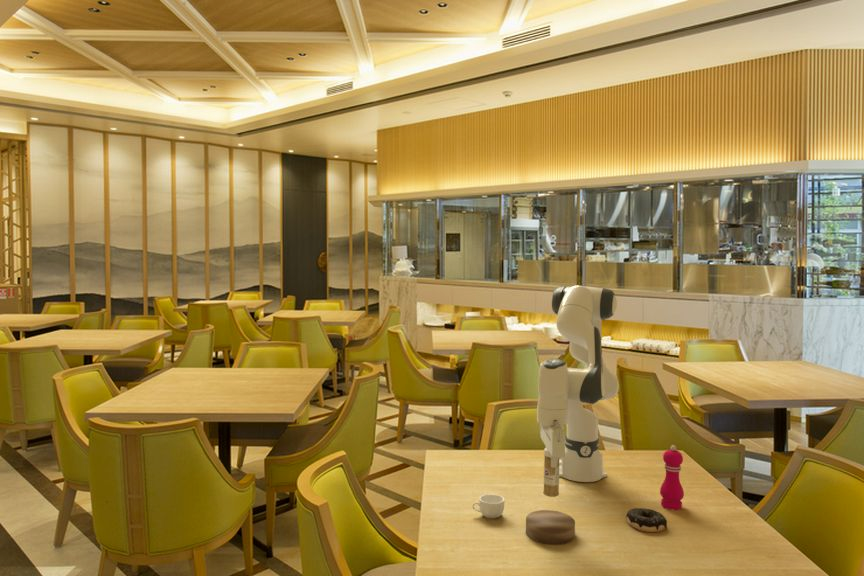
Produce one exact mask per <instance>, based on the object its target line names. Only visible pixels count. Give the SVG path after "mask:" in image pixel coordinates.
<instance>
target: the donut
mask: <svg viewBox="0 0 864 576" xmlns="http://www.w3.org/2000/svg"><path fill="white" fill-rule="evenodd" d="M625 518H626V519H625V520H626V522H627V523H628V525H630V526H631V527H632V528H634V529H636V530H639V531H641V532H645V533H659V532H661V531H664V530H667V525H668V520H667V519H666V517H665V516H664V514H663V513H661V512H659V511H657V510H654V509H649V508H644V507H642V508H641V507H638V508H637V507H635V508H634V507H633V508H630V509H629V510H628V511H627V512H626V515H625Z"/></svg>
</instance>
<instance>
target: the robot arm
mask: <svg viewBox="0 0 864 576" xmlns="http://www.w3.org/2000/svg"><path fill="white" fill-rule="evenodd" d="M550 304H551V309H552V312H553V313H554V315H556V316H557V317H556V329H557V330H558V333H559V334H560V335H561V336H562V337H563V338H564V339H566V341H569V347H568V348H569V349H568V350H569V354H570V355H571V357H572V358H573V359H575V360H577V361H578V362H580V363H582V364H583V367H584V368H578V367H577V368H576V367H568V363H567V362H566V361H565V360H564V359H561V358H548V359H545V360H543V361H541V363H540V365H539V370H538V378H537V394H538V400H537V406H536V407H537V408H536V421H537V423H538V426H539V427H538V428H539V435H540V436H539V437H540V439H541V441H542V442H543V444H544V445H545V448H546V447H547V449H548V451H549V453H550V455H551V460H550V466H551V467H552V468H556V467H557V461H558V458H559V478H564V479H566V480H570V481H573V482H578V483H579V482H580V483H594V482H597V481H600V480H601V479H604V478H606V477H608V473H607V472H606V471H605V470H604V463H603V461H604V460H603V453H602V452H601V451H600V450H599V449H600V448H599V447H600V442H599V440H600V439H599V437H598V435H599V420H598V417H597V415H596V413H594V412H593V411H591V410H589V409H587V408H584V405H583V403H585V404H590V405H594V404H596V403H598V402H599V401H605V400H610V399H615V397H616V396H617V395H618V393H619V389H620V383H619V379H618V377H617V375H616V374H615V373H614V372H613V371H611V370H610V368H608V367H607V365H606V363H605V362H604V358H603V350H602V349H603V348H602V330H603V328H602V326H603V325H602V323H603V322H602V321H605V320H608V319H611V317H613V316H614V314H615V312H616V309H617V306H618V301H617V297H616V294H615V292H614V291H613V290H612V289H608V288H606V287H605V288H604V287H603V288H600V287H594V286H588V285H587V286H586V285H585V286H584V285H580V284H578V285H573V286H565V285H564V286H558V287H556V288H555V289H554V290H553V292H552V295H551V298H550ZM564 426H566V436H565V430H564Z"/></svg>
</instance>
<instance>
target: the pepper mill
mask: <svg viewBox="0 0 864 576" xmlns="http://www.w3.org/2000/svg"><path fill="white" fill-rule="evenodd" d="M662 460H663V462H664V470H665V477H664V479H663V482H662V483H661V486H660V488H659V494H660V496H661V497H662V498H661V501H660V503H661V504H660V505H661V507H662V508H665V509H667V510H672V511H677V510H681V509H682V508H683V502H682V500H683V499H684V496H685V495H684V493H685V491H684V488H683V486H682V484H681V480H680V472H681V471H682V466H681V464H683V462H684V457H683V454H682V453H681V452H680V451H678V450H677V447H676V445H674V444H672V445H671V446H670V449H667V450H666V451H665V452H663V455H662Z"/></svg>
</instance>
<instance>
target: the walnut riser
mask: <svg viewBox="0 0 864 576" xmlns="http://www.w3.org/2000/svg"><path fill="white" fill-rule="evenodd" d="M525 534H526V536H527V537H528V538H529V539H531V540H533V541H534V542H538V543H540V544H545V545H554V546H555V545H557V546H558V545H565V544H568V543H571V542H572V541H573V540H574V539H575V535H576V520H575V519H574V518H573V516H571V515H569V514H567V513H565V512H561V511H557V510H550V509H545V510H544V509H543V510H541V509H540V510H536V511H532V512H530V513H528V514H527V515H526V517H525Z"/></svg>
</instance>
